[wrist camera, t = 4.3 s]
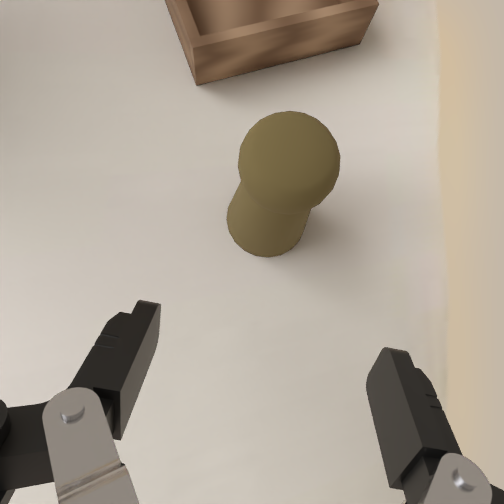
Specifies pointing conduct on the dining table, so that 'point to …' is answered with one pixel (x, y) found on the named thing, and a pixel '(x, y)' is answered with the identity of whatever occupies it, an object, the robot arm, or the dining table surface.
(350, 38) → the walnut box
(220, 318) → the dining table surface
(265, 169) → the olive tapered rounded piece
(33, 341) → the dining table surface
